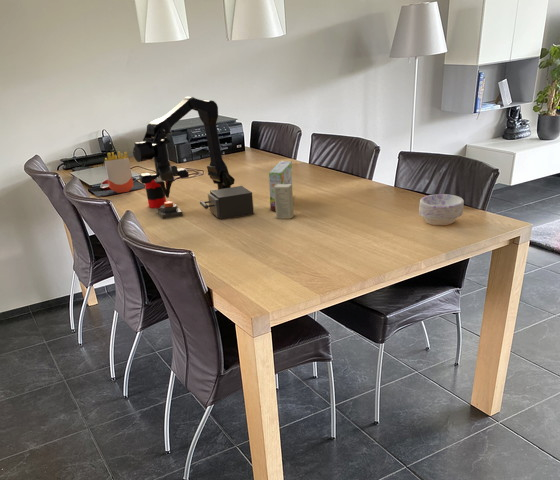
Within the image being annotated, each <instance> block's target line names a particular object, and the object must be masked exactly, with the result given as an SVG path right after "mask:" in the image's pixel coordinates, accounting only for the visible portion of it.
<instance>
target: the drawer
mask: <svg viewBox="0 0 560 480" xmlns="http://www.w3.org/2000/svg"><path fill="white" fill-rule="evenodd" d="M207 198H208V200H207V201H204V200H200V201H199V204H200V206H202V207H203V208H204V209H205V210H207V209H209V211H210V212H211V213H212V215H214V216H215V217H216V218H217V219H220V218H219V217H220V208H219V199H217V198H216V197H214V196H213V195H212V194H211V193H210V192H209V193H207Z"/></svg>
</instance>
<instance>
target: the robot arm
mask: <svg viewBox="0 0 560 480" xmlns="http://www.w3.org/2000/svg"><path fill="white" fill-rule="evenodd" d="M191 111H196V112H197V114H198V117H199V119H200V121H201V122H202V124H203V125H204V131H205V137H206V142H207V147H208V153H209V159H210V162H209V165H206V170H207V176H209V178H210V180H211V181H212V183H213V184H215V185H217V190H218V189H224V188H231V187H232V185H234V184H235V181H236V179H235V178H234V177H233V176H232V175H231V174H230V172H229V168H228V166H227V164H226V163H225V161H224V159H223V155H222V149H221V143H220V138H219V132H218V127H217V122H218V118H219V106H218V103H217V102H216V101H215V100H209V99H200V98H195V97H194V96H185V97H184V98H183V99H182V100H181V101H180V102H179V103H178V104H176V105H175V106H174V107H173V108H172V109H170V111H168V112H167V113H166V114H164V115H163V116H161V117H159V118H156V119H154V120H152V121H150V122H149V123H148V124H147V125H146V131H145V134H144V136H143V139H142V141H140V142H137V141H136V142H134V147H133V151H132V154H133V157H134V160H135V161H136V162H137V163H142V162H145V161H152V160H153V162H154V168H155V173H153V174H151V173H150V172H144V173H139V177H138V178H139V182H140V183H141V184H142V185H145V184H146V183H151V181H152V180H154V179H155V182H156V183H157V184H159V185H160V186H161V188H162V190H163V192H164V194H165V197H166V199H169V197H170V193H171V188H172V184H173V183H174V182H176V179H175V177H179V178H181V179H187V178H189V176H190V175H189V174H190V173H189V171H188V170H187V169H186V168H185V167H179V168H178V166H177V164H174V165H171V163H170V158H169V151H168V145H170V144H172V141H171V140H170V139H169V138H168V137H167V136H168V135H169V134H170V133H171V130H172V128H173V126H174V125H175V124H177V123H178V122H179V121H180V120H181V119H182V118H184V117H185V116H186V115H187V114H188V113H189V112H191Z"/></svg>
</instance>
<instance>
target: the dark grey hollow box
mask: <svg viewBox="0 0 560 480" xmlns="http://www.w3.org/2000/svg"><path fill="white" fill-rule="evenodd" d="M210 193H211V194H212V195H213V196H214V197H216V198H217V199H219V208H220V217H219V218H218V219H219V220H221V221H223V220H227V219H235V218H240V217H246V216H253V215H255V213H254V200H253V192H252V191H251V190H249V189H248V188H246V187H245V186H244V185H240V186H231V188H224V189H218V188H217V189H211V190H209V194H210Z"/></svg>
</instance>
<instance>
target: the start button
mask: <svg viewBox="0 0 560 480" xmlns="http://www.w3.org/2000/svg"><path fill="white" fill-rule="evenodd" d="M173 204H174V202H173V201H172V200H166V202H164V207H172V206H173Z"/></svg>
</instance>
